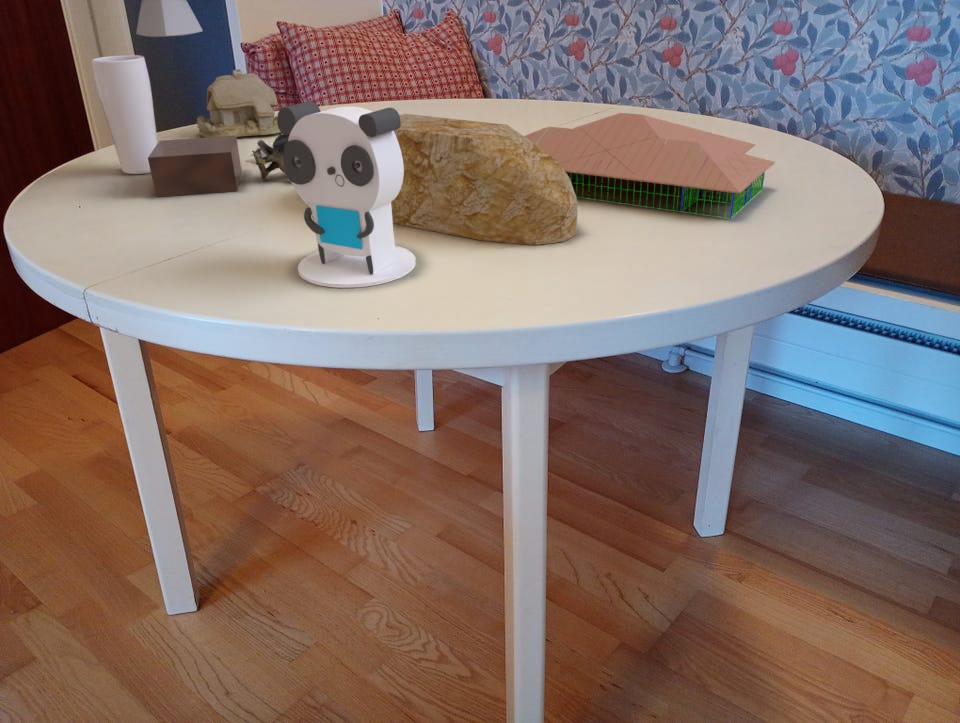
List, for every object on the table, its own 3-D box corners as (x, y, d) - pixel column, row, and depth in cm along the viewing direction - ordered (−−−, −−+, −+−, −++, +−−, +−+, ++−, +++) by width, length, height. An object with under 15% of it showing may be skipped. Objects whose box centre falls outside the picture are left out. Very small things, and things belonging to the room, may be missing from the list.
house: (558, 148, 122) (559, 91, 118) (787, 173, 106) (796, 108, 102) (477, 185, 104) (475, 120, 101) (736, 222, 89) (745, 146, 85)
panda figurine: (268, 273, 79) (243, 112, 72) (344, 238, 87) (329, 92, 80) (366, 296, 73) (349, 124, 66) (438, 257, 81) (430, 101, 75)
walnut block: (155, 197, 103) (147, 157, 101) (166, 177, 112) (159, 140, 110) (237, 191, 105) (231, 151, 103) (242, 172, 114) (236, 135, 111)
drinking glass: (148, 162, 120) (125, 53, 113) (177, 168, 116) (155, 56, 109) (106, 172, 115) (79, 60, 108) (134, 179, 112) (109, 63, 105)
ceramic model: (274, 122, 145) (266, 62, 140) (296, 133, 136) (289, 69, 131) (194, 132, 138) (182, 70, 134) (211, 144, 130) (200, 78, 125)
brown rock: (594, 223, 90) (598, 130, 85) (545, 252, 82) (546, 152, 77) (348, 181, 108) (340, 103, 103) (288, 202, 100) (277, 118, 95)
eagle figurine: (263, 183, 104) (331, 162, 105) (244, 130, 104) (312, 111, 106) (268, 200, 111) (332, 181, 113) (251, 151, 111) (315, 133, 113)
